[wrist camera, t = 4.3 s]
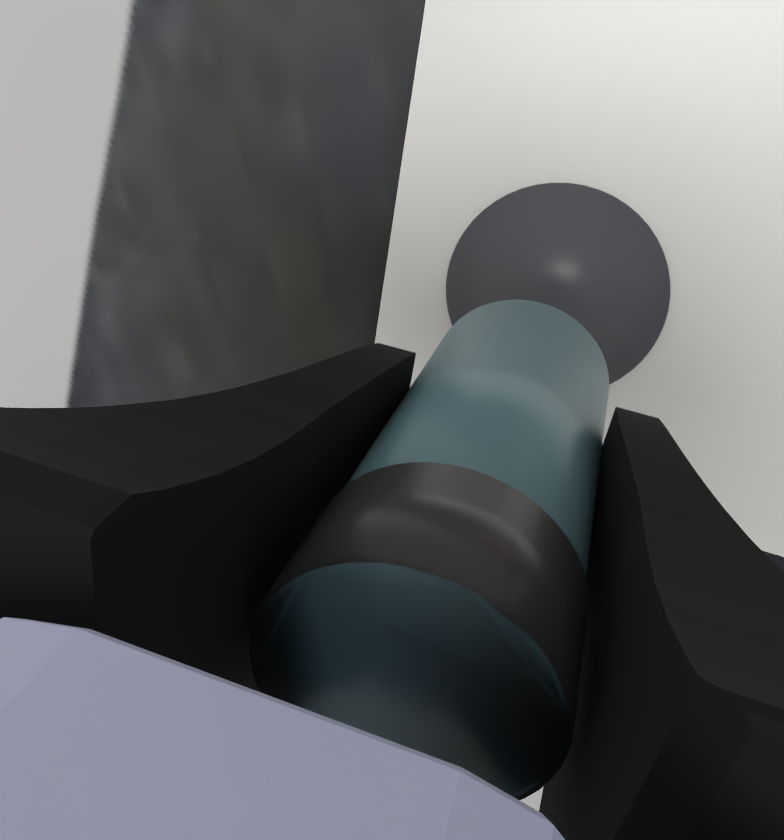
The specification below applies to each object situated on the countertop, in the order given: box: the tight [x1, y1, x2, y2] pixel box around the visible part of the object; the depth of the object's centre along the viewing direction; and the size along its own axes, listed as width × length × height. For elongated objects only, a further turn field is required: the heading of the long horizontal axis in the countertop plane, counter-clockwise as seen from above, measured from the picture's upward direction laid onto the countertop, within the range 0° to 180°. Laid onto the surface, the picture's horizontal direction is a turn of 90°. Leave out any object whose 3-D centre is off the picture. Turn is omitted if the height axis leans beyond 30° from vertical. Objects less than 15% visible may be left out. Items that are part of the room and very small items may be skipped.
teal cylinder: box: [249, 299, 609, 800], centre depth 10 cm, size 3×3×7 cm
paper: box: [375, 0, 784, 557], centre depth 16 cm, size 16×12×1 cm
